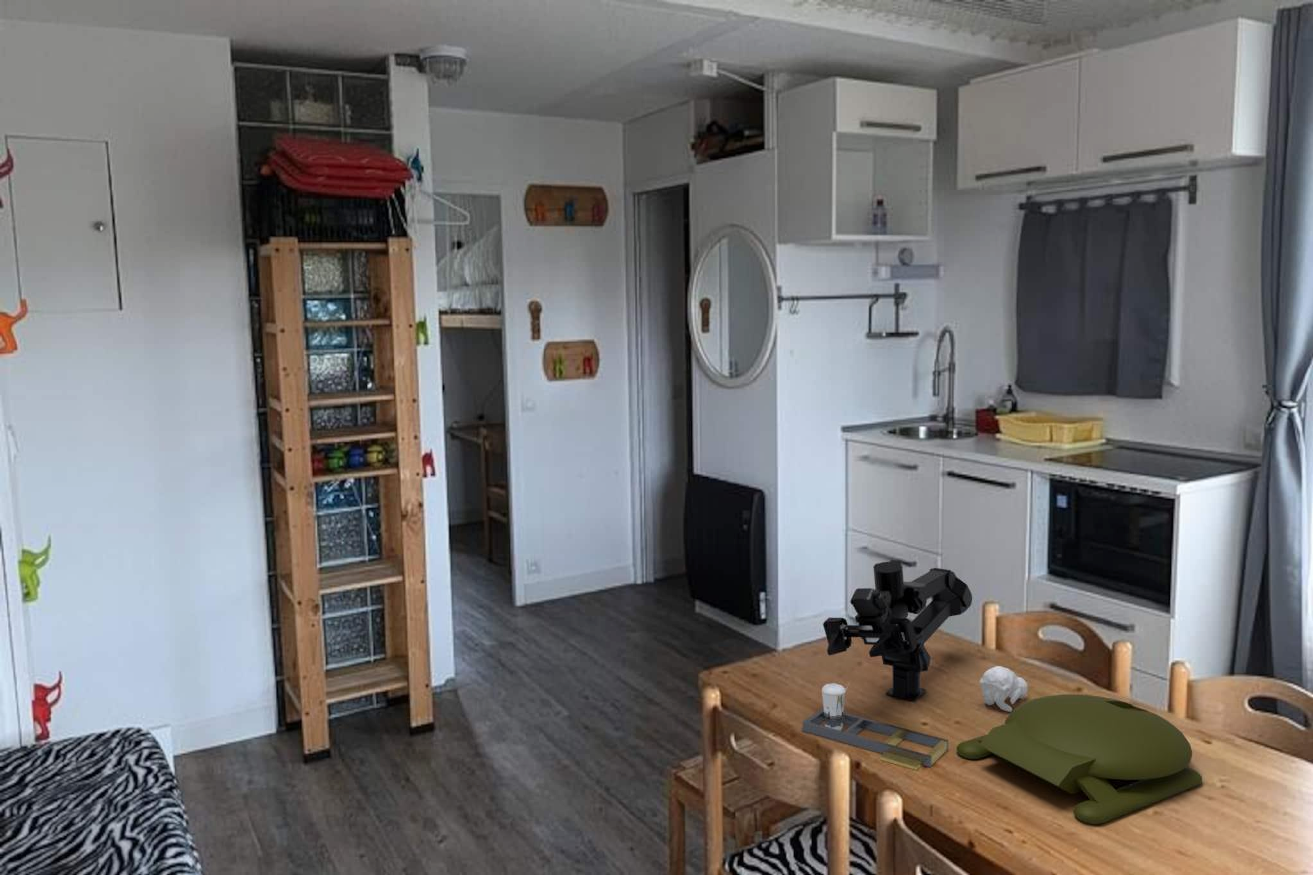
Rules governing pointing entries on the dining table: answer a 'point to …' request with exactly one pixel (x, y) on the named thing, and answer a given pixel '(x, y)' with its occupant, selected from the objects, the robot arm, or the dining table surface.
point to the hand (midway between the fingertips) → (848, 653)
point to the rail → (887, 748)
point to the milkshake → (833, 705)
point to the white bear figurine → (1002, 687)
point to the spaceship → (1093, 751)
